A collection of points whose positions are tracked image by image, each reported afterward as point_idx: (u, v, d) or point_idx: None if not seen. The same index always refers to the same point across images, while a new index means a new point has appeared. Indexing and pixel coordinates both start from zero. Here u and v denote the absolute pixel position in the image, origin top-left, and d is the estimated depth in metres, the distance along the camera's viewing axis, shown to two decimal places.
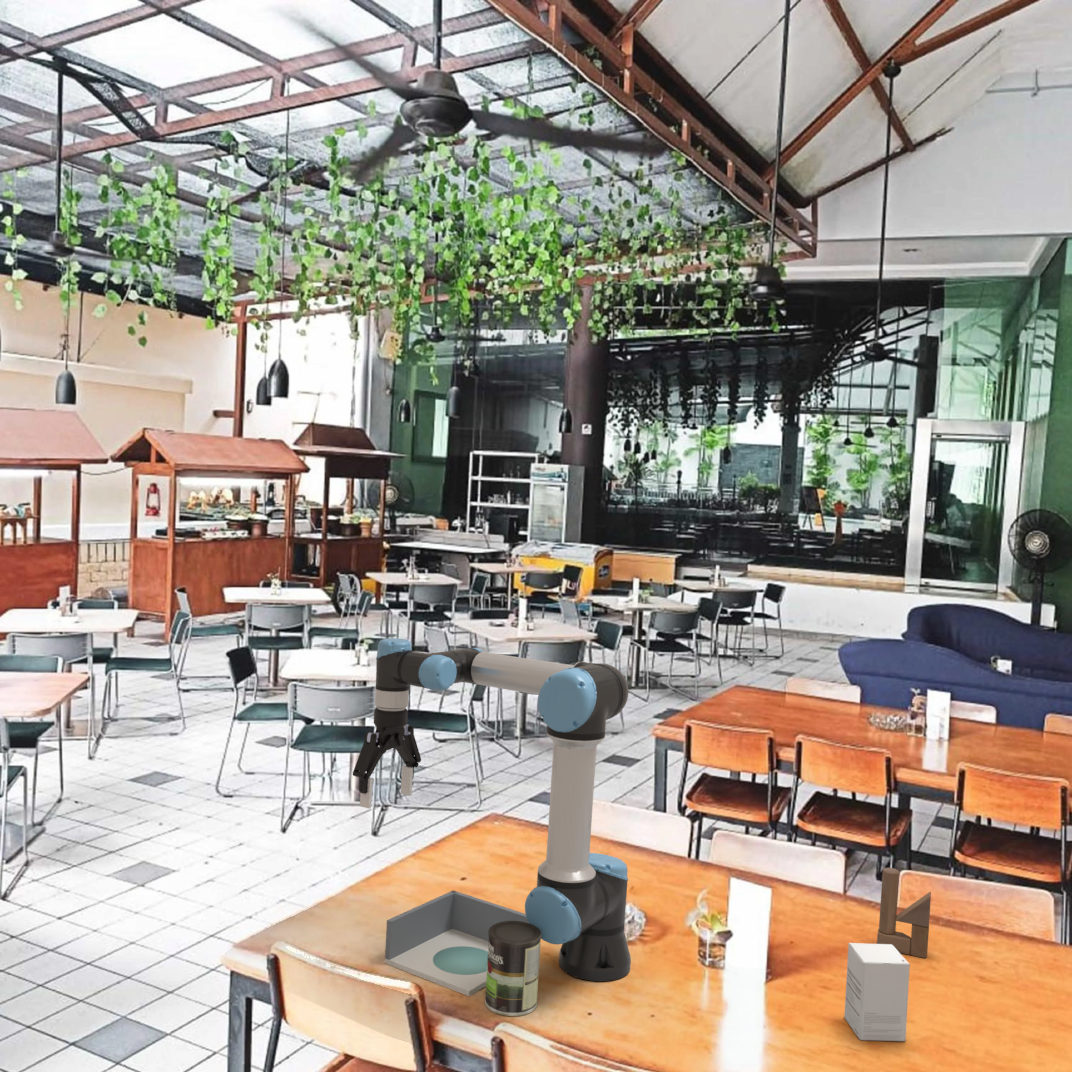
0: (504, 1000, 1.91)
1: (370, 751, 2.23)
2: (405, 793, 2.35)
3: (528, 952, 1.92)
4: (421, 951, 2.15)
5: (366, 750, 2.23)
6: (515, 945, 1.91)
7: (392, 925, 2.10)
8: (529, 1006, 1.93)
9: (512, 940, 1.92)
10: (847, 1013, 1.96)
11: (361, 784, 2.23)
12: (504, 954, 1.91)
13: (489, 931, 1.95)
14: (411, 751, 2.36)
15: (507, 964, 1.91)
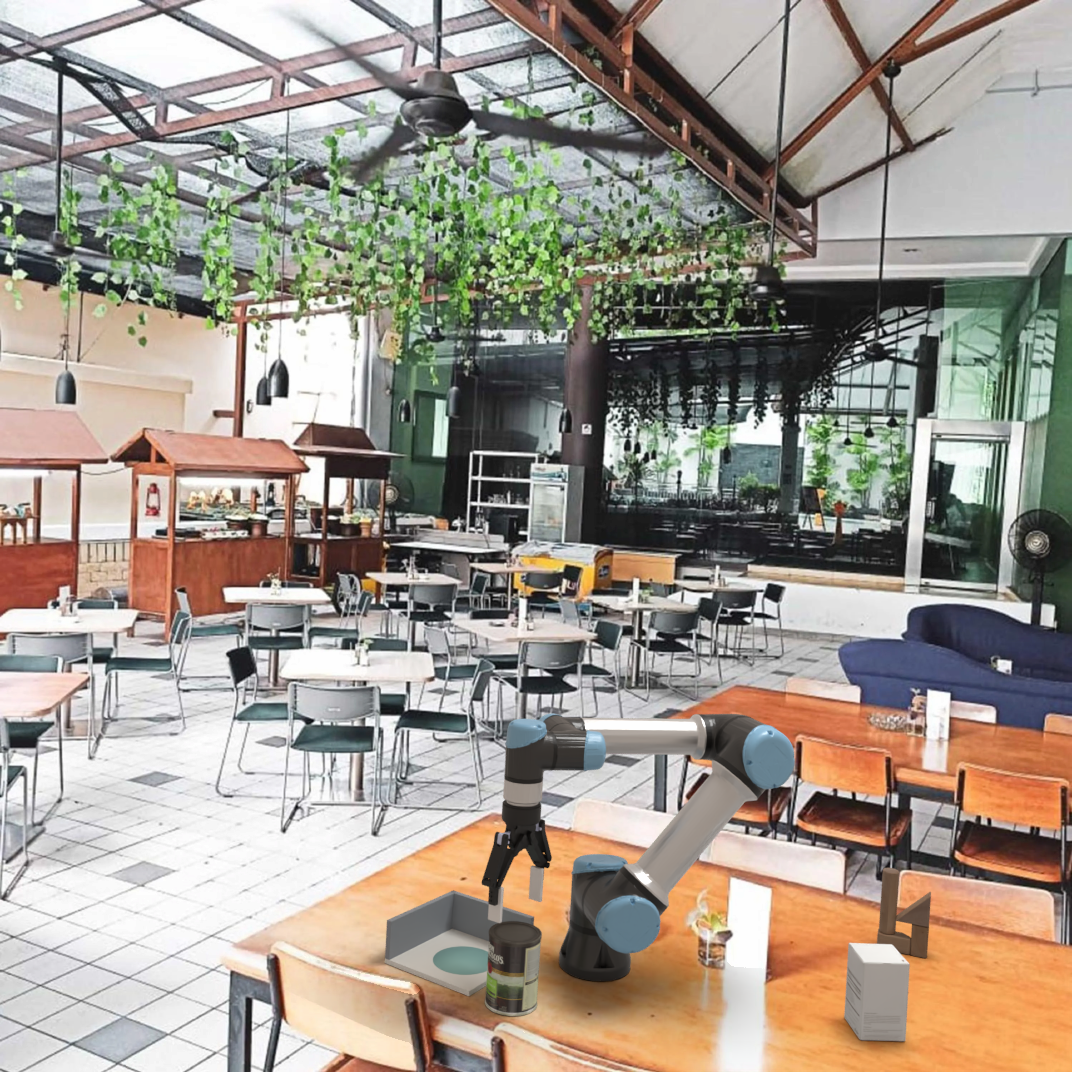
0: (504, 1000, 1.92)
1: (501, 856, 1.89)
2: (534, 898, 2.01)
3: (528, 952, 1.92)
4: (421, 951, 2.15)
5: (497, 854, 1.89)
6: (515, 945, 1.91)
7: (392, 925, 2.10)
8: (529, 1006, 1.93)
9: (512, 940, 1.93)
10: (847, 1013, 1.96)
11: (491, 894, 1.89)
12: (504, 953, 1.91)
13: (489, 931, 1.96)
14: (541, 849, 2.02)
15: (507, 963, 1.91)
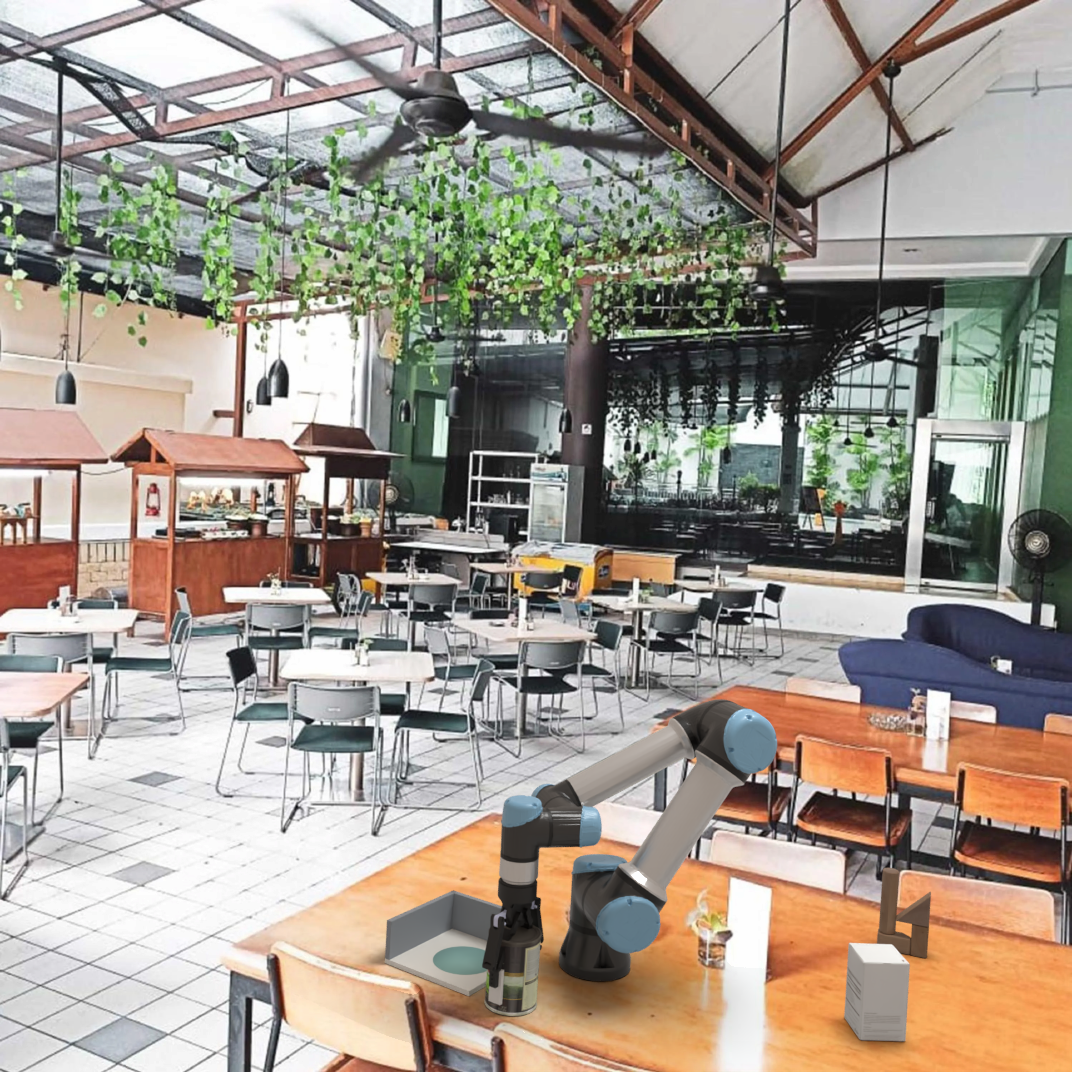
0: (504, 1000, 1.91)
1: (499, 939, 1.89)
2: None
3: (528, 952, 1.92)
4: (421, 951, 2.15)
5: (494, 937, 1.90)
6: (515, 945, 1.91)
7: (392, 925, 2.10)
8: (529, 1006, 1.93)
9: (512, 940, 1.93)
10: (847, 1013, 1.96)
11: (491, 977, 1.90)
12: None
13: None
14: None
15: (507, 963, 1.91)
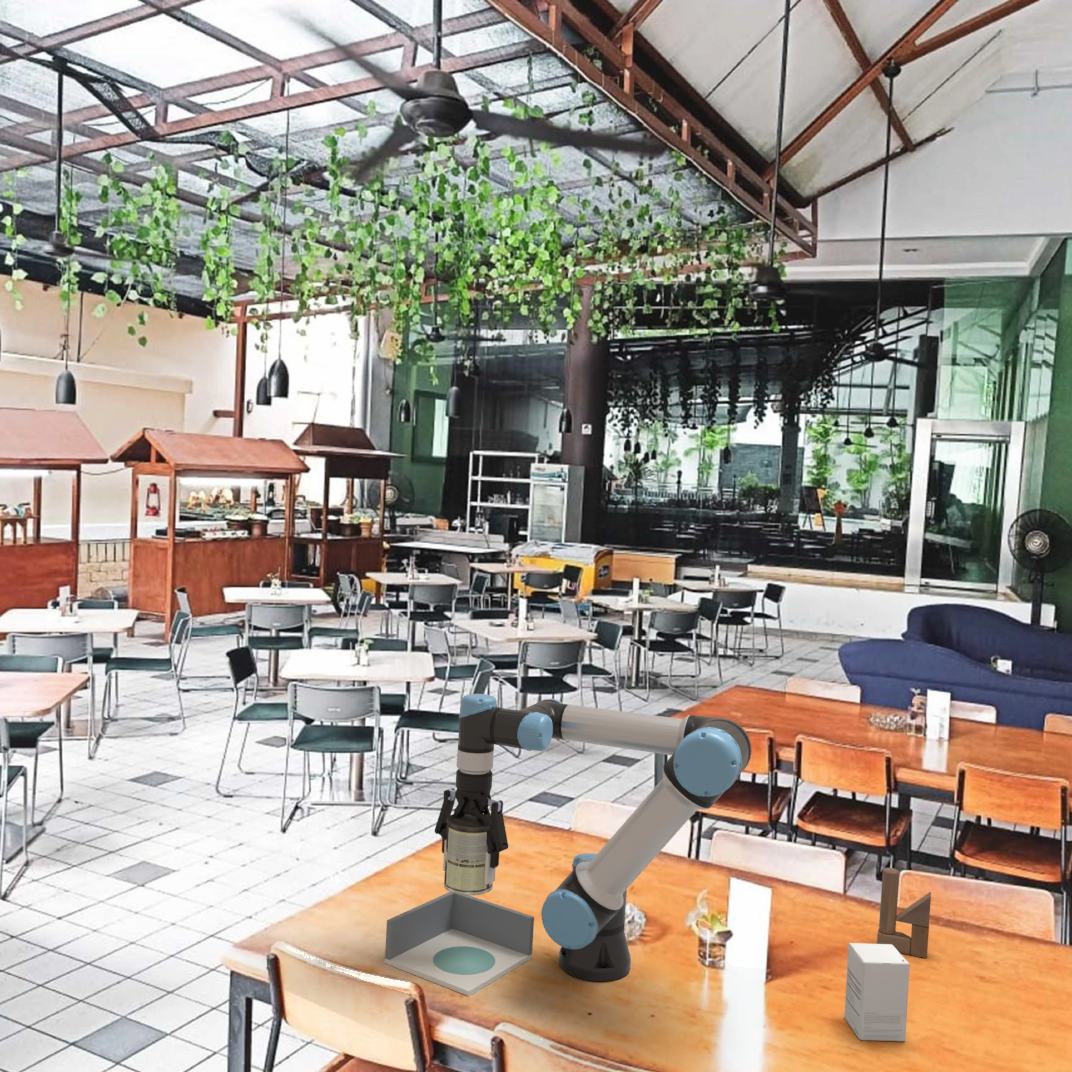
0: None
1: (442, 808, 2.14)
2: None
3: (449, 832, 2.08)
4: (421, 951, 2.15)
5: None
6: None
7: (392, 925, 2.10)
8: (450, 885, 2.08)
9: (455, 818, 2.11)
10: (847, 1013, 1.96)
11: None
12: None
13: None
14: None
15: None
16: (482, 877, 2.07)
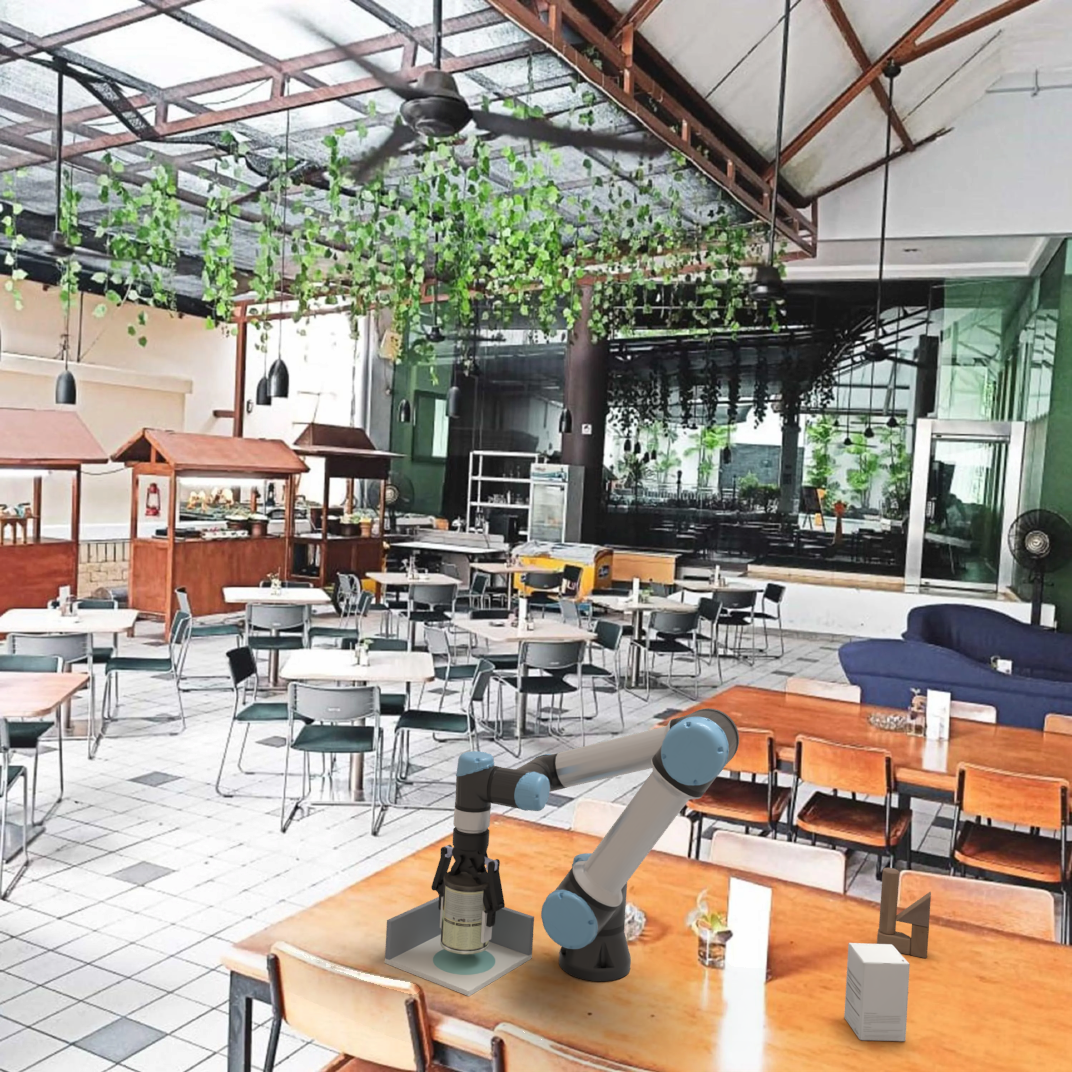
0: None
1: (439, 864, 2.14)
2: None
3: (446, 890, 2.08)
4: (421, 951, 2.15)
5: None
6: None
7: (392, 925, 2.10)
8: (446, 943, 2.08)
9: (452, 876, 2.12)
10: (847, 1013, 1.96)
11: None
12: None
13: None
14: None
15: None
16: (478, 936, 2.07)
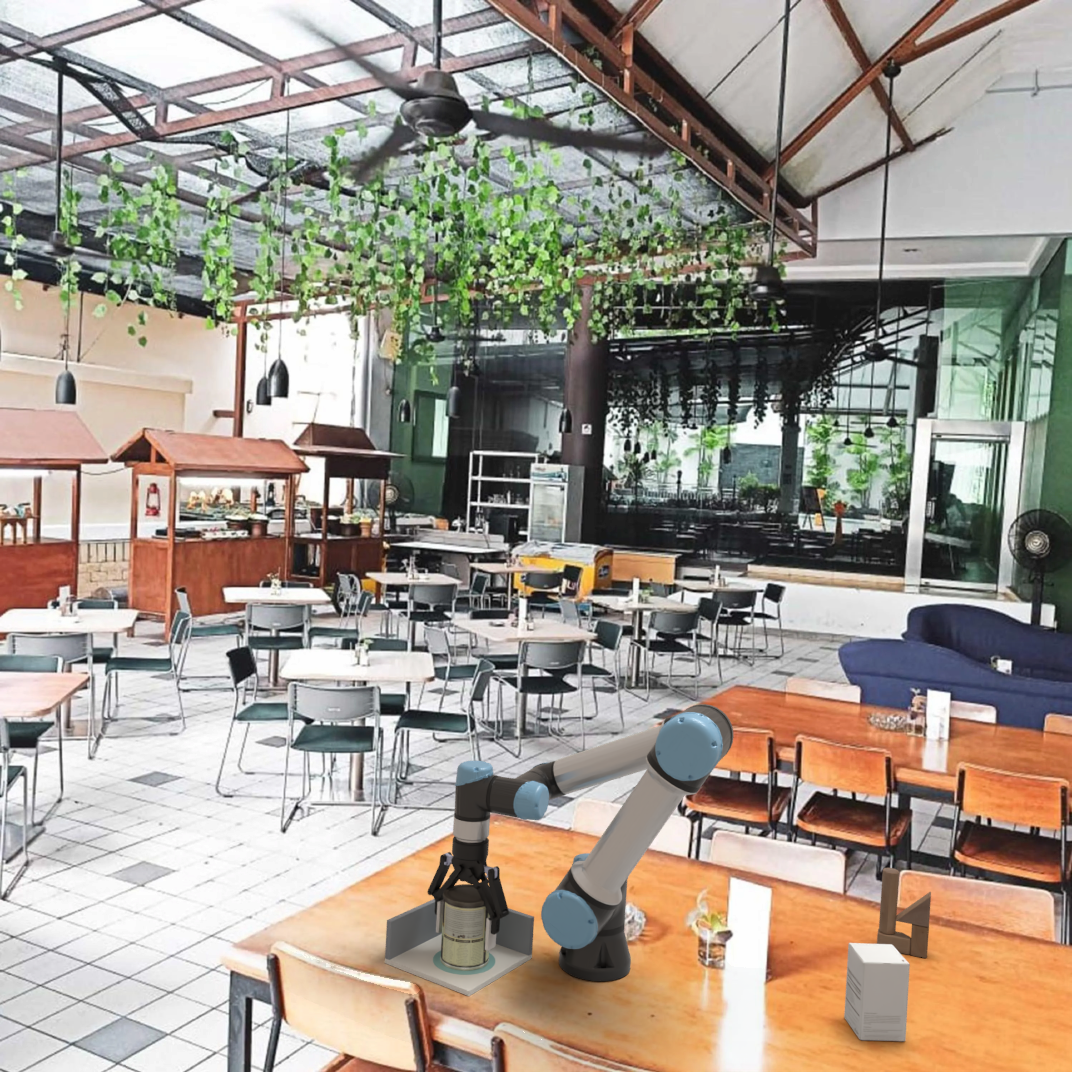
0: None
1: (437, 871, 2.14)
2: None
3: (446, 906, 2.09)
4: (421, 951, 2.15)
5: None
6: (443, 894, 2.11)
7: (392, 925, 2.10)
8: (446, 960, 2.08)
9: (451, 892, 2.12)
10: (847, 1013, 1.96)
11: None
12: None
13: (467, 884, 2.16)
14: None
15: None
16: (478, 952, 2.07)
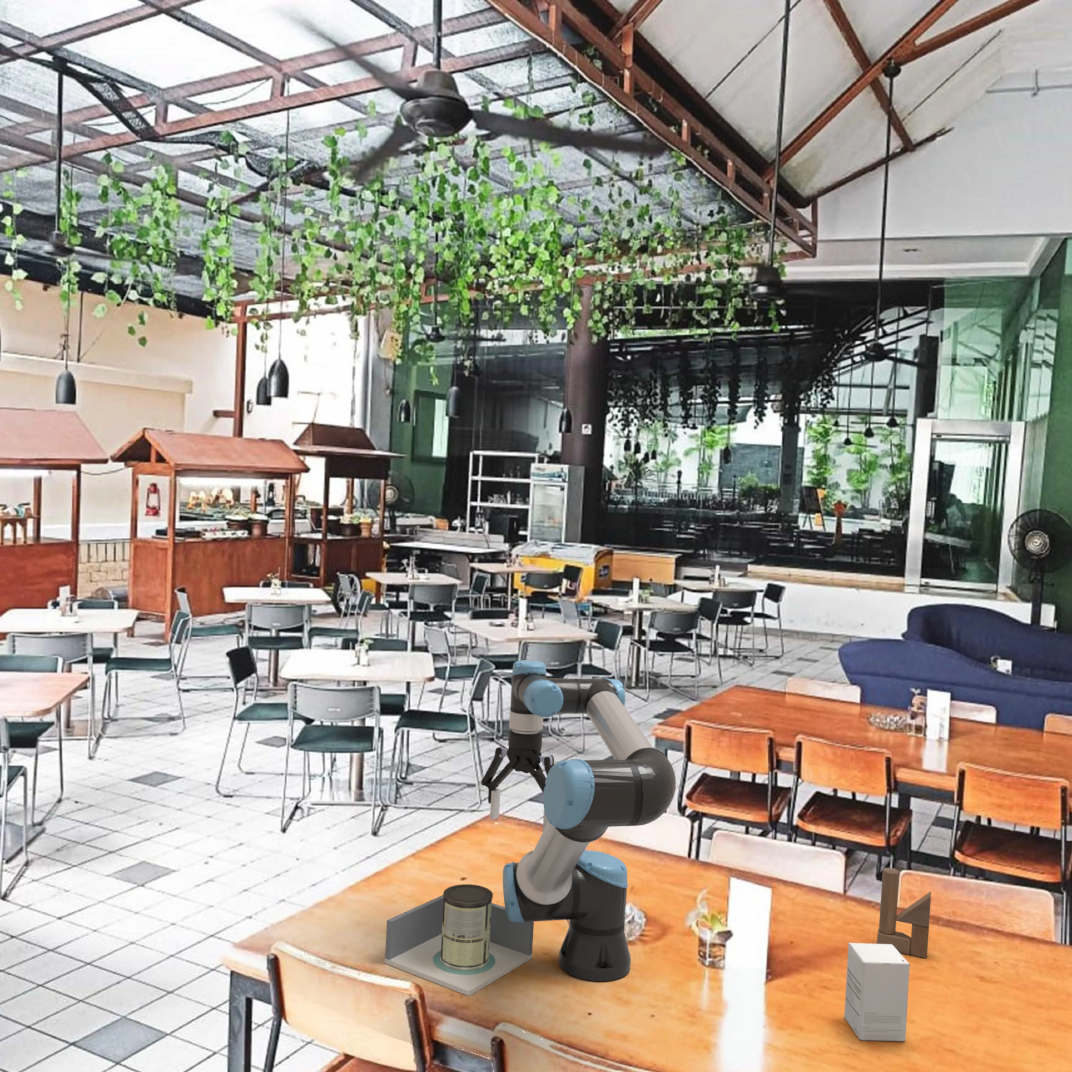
0: None
1: (492, 763, 2.30)
2: None
3: (446, 906, 2.09)
4: (421, 951, 2.15)
5: None
6: (443, 894, 2.11)
7: (392, 925, 2.10)
8: (446, 960, 2.08)
9: (451, 892, 2.12)
10: (847, 1013, 1.96)
11: None
12: None
13: (467, 884, 2.16)
14: None
15: None
16: (478, 952, 2.07)
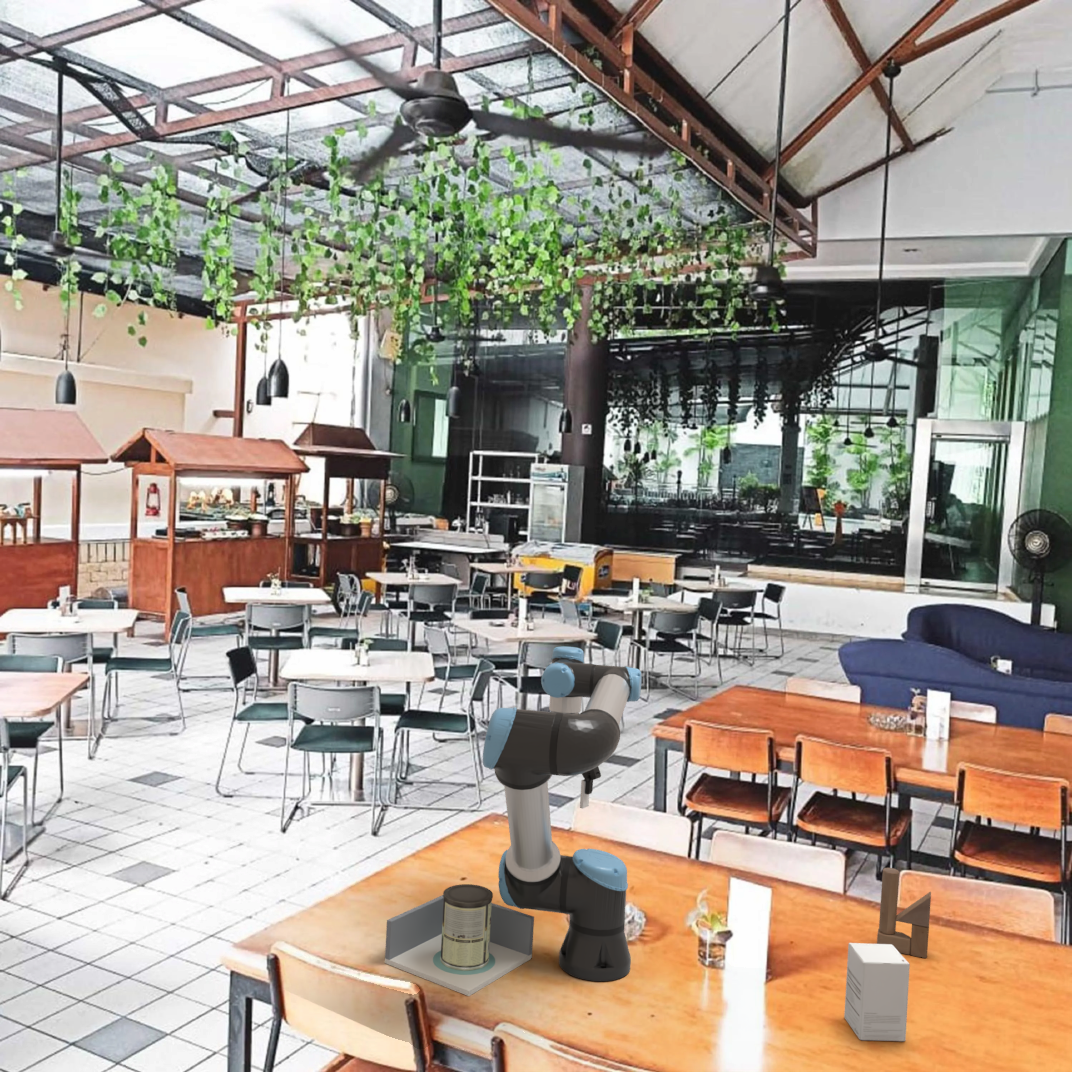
0: None
1: None
2: None
3: (446, 906, 2.09)
4: (421, 951, 2.15)
5: None
6: (443, 894, 2.11)
7: (392, 925, 2.10)
8: (446, 960, 2.08)
9: (451, 892, 2.12)
10: (847, 1013, 1.96)
11: None
12: None
13: (467, 884, 2.16)
14: None
15: None
16: (478, 952, 2.07)
